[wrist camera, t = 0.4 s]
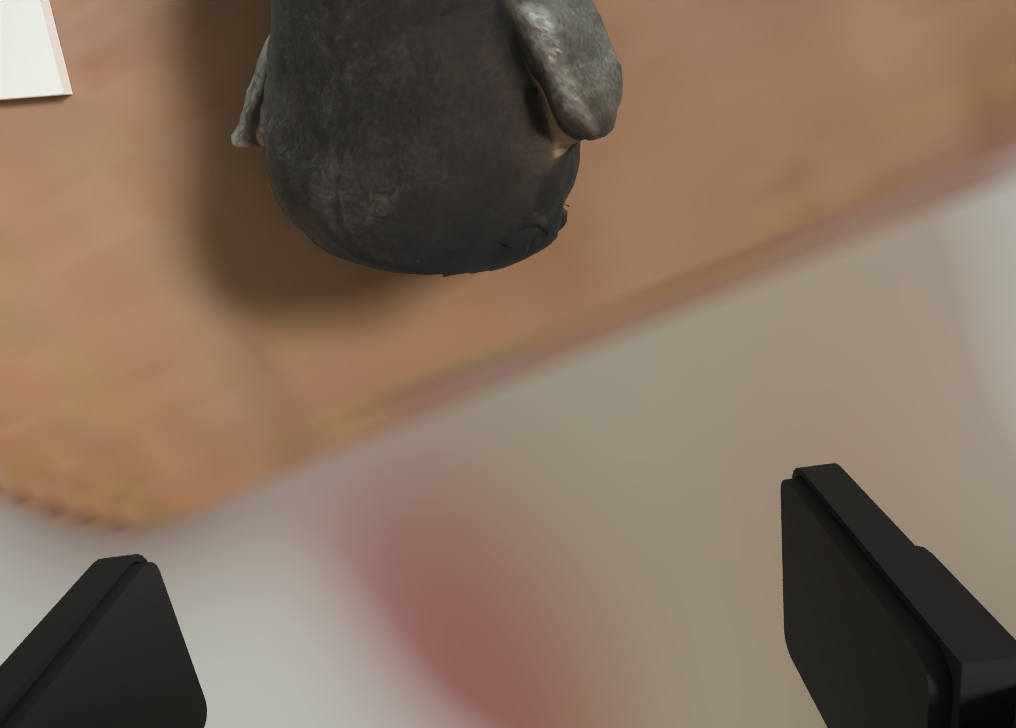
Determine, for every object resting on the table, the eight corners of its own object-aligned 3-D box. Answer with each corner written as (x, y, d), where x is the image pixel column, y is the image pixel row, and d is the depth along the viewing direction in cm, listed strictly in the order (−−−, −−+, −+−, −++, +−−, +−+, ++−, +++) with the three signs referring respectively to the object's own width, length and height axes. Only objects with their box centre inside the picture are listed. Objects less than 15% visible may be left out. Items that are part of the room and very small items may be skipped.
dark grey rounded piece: (356, 228, 45) (184, 297, 34) (272, -183, 37) (14, -265, 26) (677, 219, 36) (586, 307, 25) (657, -320, 28) (512, -530, 17)
